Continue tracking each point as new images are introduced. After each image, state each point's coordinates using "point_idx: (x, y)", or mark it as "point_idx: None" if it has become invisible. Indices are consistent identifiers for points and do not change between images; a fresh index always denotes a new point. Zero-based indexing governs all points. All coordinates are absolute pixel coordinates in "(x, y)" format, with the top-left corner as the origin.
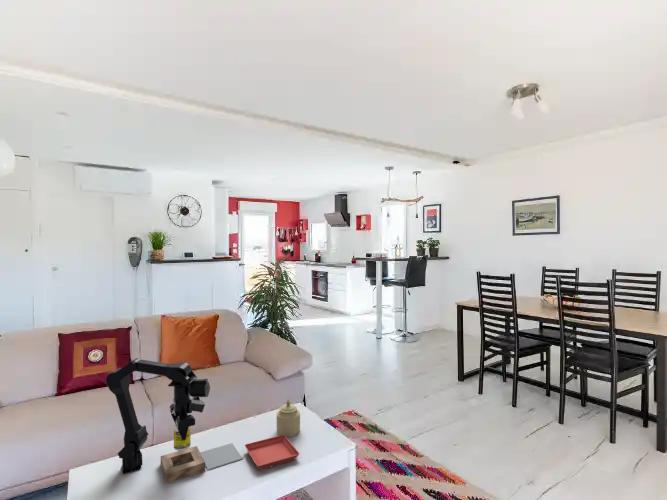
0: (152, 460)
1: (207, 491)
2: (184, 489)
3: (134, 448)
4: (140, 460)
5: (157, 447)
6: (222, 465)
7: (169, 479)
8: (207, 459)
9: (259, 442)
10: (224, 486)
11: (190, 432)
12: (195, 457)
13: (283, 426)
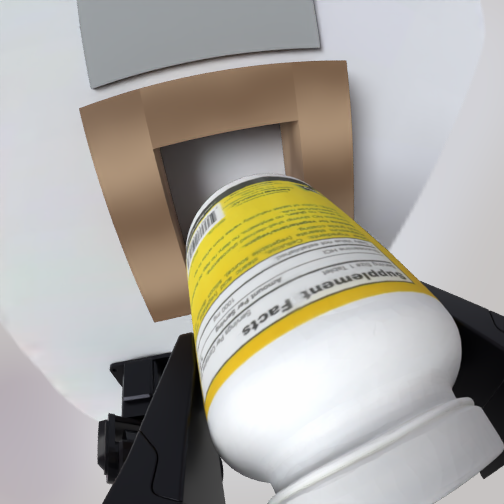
0: (107, 325)
1: (452, 96)
2: (405, 175)
3: (220, 458)
4: (155, 379)
5: (6, 316)
6: None
7: None
8: (205, 33)
9: None
10: (451, 32)
11: (356, 237)
12: (255, 111)
13: None
